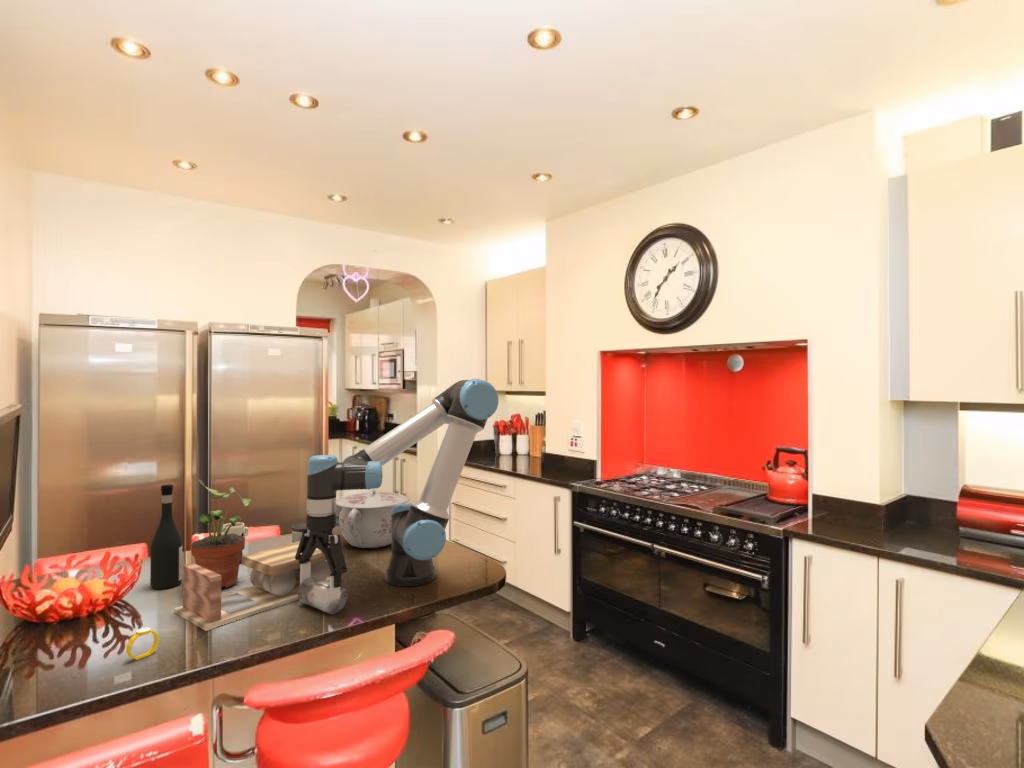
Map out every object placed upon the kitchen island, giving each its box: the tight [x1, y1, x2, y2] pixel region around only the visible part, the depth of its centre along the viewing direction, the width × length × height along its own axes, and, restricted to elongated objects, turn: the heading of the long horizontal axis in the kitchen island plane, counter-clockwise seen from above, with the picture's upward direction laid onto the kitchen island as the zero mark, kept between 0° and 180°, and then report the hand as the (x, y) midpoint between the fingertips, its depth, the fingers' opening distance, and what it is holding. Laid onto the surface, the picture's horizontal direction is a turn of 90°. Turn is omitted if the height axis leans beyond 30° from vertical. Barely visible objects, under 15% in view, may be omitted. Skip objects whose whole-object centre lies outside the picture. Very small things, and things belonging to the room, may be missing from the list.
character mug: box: [221, 521, 249, 563], centre depth 182 cm, size 11×7×13 cm, turn 151°
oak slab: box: [241, 541, 327, 576], centre depth 158 cm, size 16×20×2 cm
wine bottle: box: [149, 484, 183, 590], centre depth 162 cm, size 8×8×30 cm
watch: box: [125, 627, 160, 661], centre depth 119 cm, size 6×3×6 cm, turn 151°
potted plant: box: [190, 478, 252, 589], centre depth 162 cm, size 16×15×35 cm
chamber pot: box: [336, 488, 410, 549], centre depth 205 cm, size 28×28×21 cm
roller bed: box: [174, 560, 331, 632], centre depth 151 cm, size 18×38×12 cm, turn 143°
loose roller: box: [298, 577, 348, 615], centre depth 145 cm, size 12×7×7 cm, turn 53°
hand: (319, 593), depth 145 cm, fingers open, 13 cm apart
